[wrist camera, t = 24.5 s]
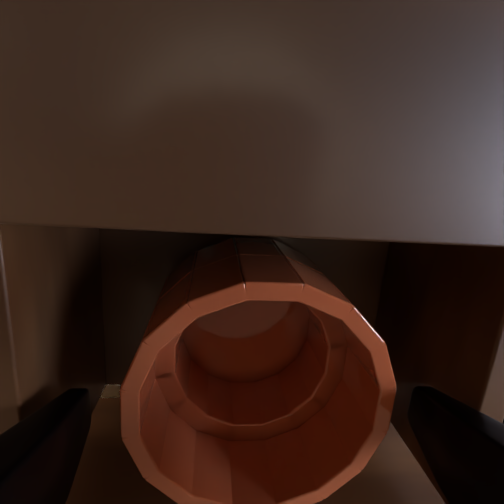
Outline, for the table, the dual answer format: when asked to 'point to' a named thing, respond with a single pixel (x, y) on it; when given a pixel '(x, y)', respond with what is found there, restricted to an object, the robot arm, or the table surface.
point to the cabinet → (256, 117)
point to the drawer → (147, 291)
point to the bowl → (254, 381)
